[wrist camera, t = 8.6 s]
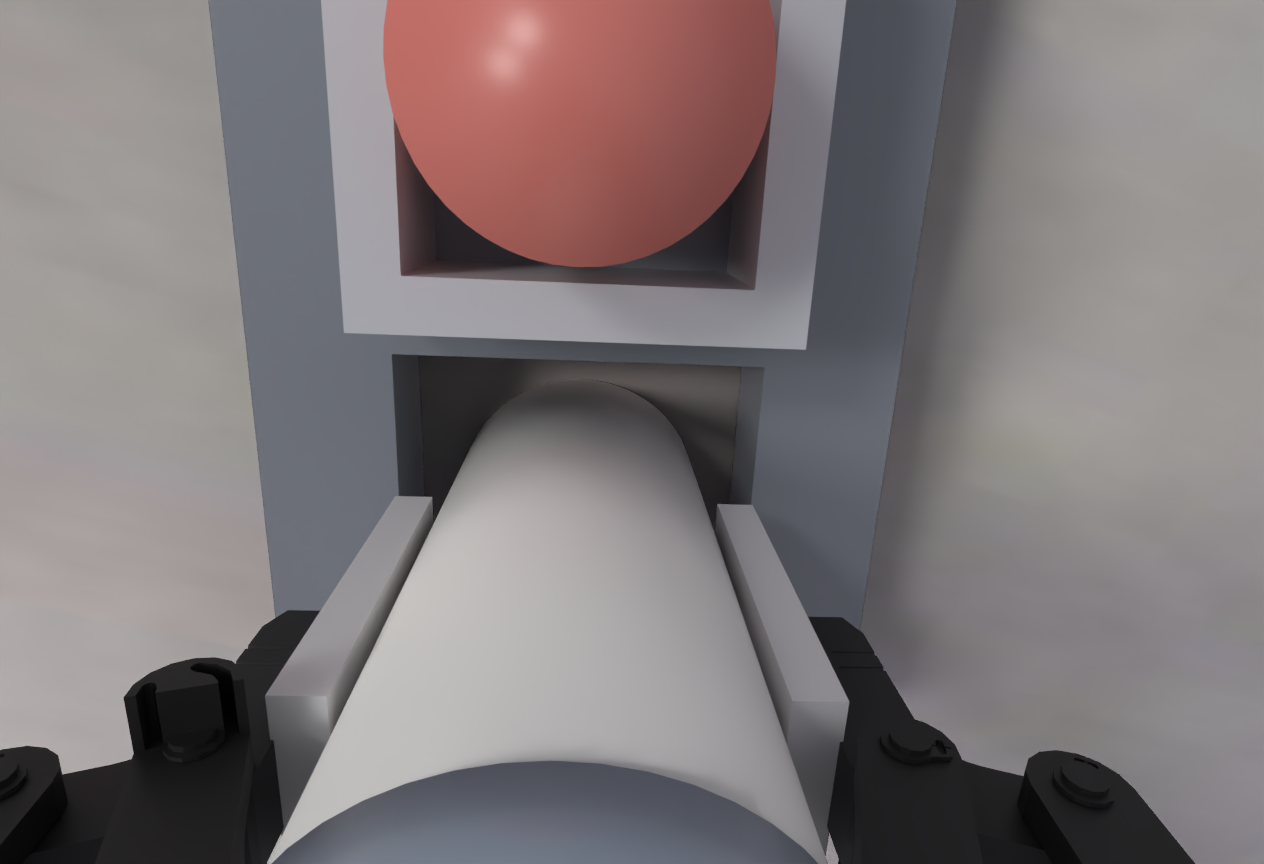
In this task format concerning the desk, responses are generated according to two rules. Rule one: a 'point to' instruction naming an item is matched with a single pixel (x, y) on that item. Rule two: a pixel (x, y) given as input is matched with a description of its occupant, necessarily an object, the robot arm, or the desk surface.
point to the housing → (576, 280)
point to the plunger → (581, 115)
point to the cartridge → (561, 670)
